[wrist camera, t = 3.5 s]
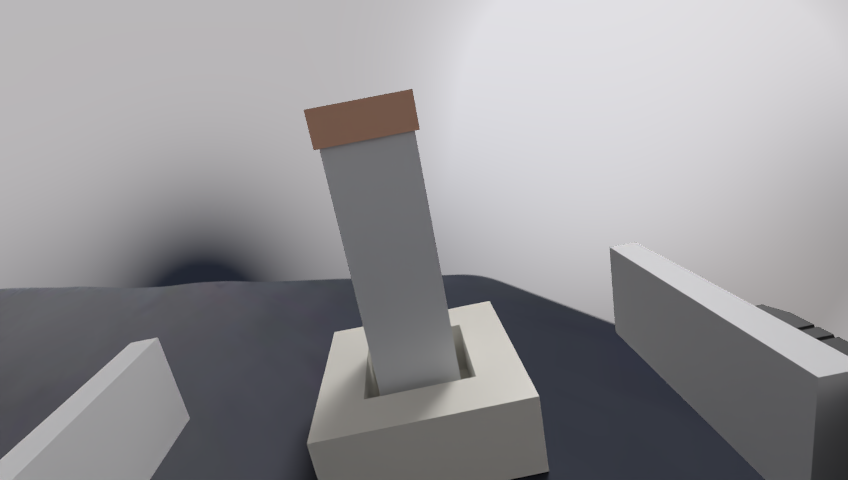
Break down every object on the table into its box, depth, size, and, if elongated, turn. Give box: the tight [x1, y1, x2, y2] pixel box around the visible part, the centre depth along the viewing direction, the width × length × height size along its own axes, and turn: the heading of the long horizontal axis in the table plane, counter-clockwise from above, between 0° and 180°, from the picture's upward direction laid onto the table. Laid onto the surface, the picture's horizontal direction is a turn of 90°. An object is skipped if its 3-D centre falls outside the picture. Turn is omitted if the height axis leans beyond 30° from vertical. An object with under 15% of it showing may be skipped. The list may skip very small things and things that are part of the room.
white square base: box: [307, 301, 549, 480], centre depth 24 cm, size 10×10×4 cm
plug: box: [304, 89, 461, 396], centre depth 22 cm, size 4×4×16 cm
